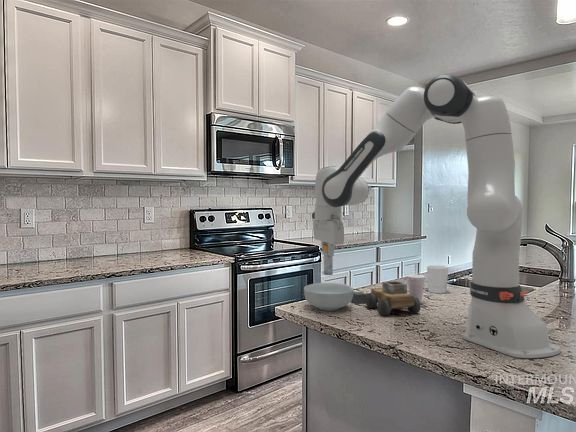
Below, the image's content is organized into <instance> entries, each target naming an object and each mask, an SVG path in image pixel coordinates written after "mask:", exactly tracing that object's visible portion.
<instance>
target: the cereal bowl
mask: <svg viewBox="0 0 576 432" xmlns="http://www.w3.org/2000/svg"><path fill="white" fill-rule="evenodd" d="M353 292H355V291H354V288H353V287H352V285H349V284H345V283H341V282H340V283H338V282H317V283H316V282H315V283H311V284H307V285H306V286H304V287H303V294H304V298H305V300H306V302H307V303H308V304H309V305H311V306H314V307H315V308H317V309H318V310H321V311H326V312H328V311H329V312H331V311H338V310H340V309H341V308H343V307H346V306H348V305H349V304H350V303H351V302H352V298H353Z"/></svg>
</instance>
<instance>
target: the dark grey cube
mask: <svg viewBox="0 0 576 432" xmlns="http://www.w3.org/2000/svg"><path fill="white" fill-rule="evenodd" d="M366 294H367V293H366V292H363V291H354V292H353V298H352V300H351V302H352V303H353V304H355V305H366V303H365V296H366Z"/></svg>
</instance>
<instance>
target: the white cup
mask: <svg viewBox="0 0 576 432" xmlns="http://www.w3.org/2000/svg"><path fill="white" fill-rule="evenodd" d="M448 272H449V267H448V266H445V265H440V264H439V265H436V264H435V265H434V264H433V265H427V266H426V276H427V277H426V278H427V286H428V287H427V289H428V290H427V291H428V293H431V294H446V293H447V290H448V289H447V288H448V287H447V286H448V278H449V276H448V275H449V273H448Z"/></svg>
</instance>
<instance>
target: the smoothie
mask: <svg viewBox="0 0 576 432" xmlns="http://www.w3.org/2000/svg"><path fill="white" fill-rule="evenodd" d="M417 266H418V265H417V263H414V274H407V275H406V279H407V287H408V292H409V293H408V294H410V295H413V296H414V297H417V298H418V299H419V301H420V305H421V304H422V302H423V294H424V286H425V280H426V275H422V274H417V273H418V272H417V269H418V267H417Z"/></svg>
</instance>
